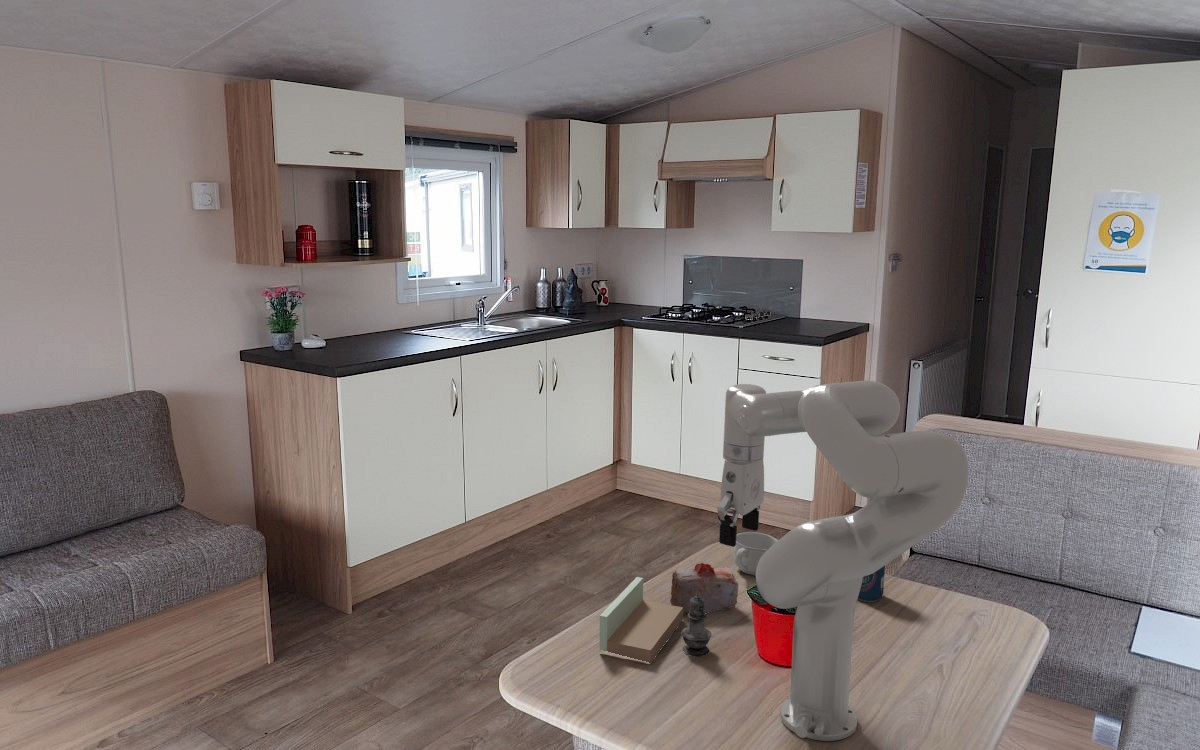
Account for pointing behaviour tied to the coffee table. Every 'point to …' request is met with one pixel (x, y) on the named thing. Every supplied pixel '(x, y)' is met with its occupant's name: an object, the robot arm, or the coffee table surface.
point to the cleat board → (637, 624)
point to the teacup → (751, 550)
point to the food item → (704, 587)
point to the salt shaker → (696, 629)
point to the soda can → (872, 586)
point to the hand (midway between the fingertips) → (739, 536)
